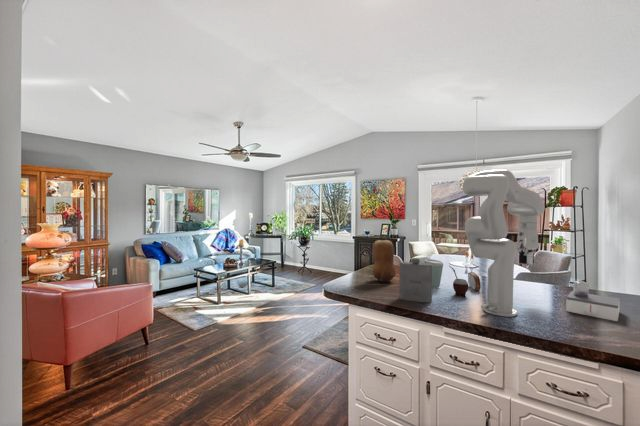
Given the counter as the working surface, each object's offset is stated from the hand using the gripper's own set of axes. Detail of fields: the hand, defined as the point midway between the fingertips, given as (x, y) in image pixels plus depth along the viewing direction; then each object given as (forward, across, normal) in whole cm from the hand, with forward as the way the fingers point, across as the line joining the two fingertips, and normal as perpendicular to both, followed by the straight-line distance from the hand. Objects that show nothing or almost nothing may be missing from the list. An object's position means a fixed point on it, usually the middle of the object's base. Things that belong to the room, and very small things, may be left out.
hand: (526, 262), depth 147 cm
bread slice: (+18, -5, +24) cm, 31 cm away
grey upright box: (+19, -50, +22) cm, 58 cm away
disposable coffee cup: (+19, -23, +36) cm, 47 cm away
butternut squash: (+19, -41, +57) cm, 73 cm away
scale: (+18, +9, -23) cm, 30 cm away
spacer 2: (+12, +7, -19) cm, 24 cm away
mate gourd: (+19, -24, +18) cm, 36 cm away
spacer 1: (+1, 0, 0) cm, 1 cm away
